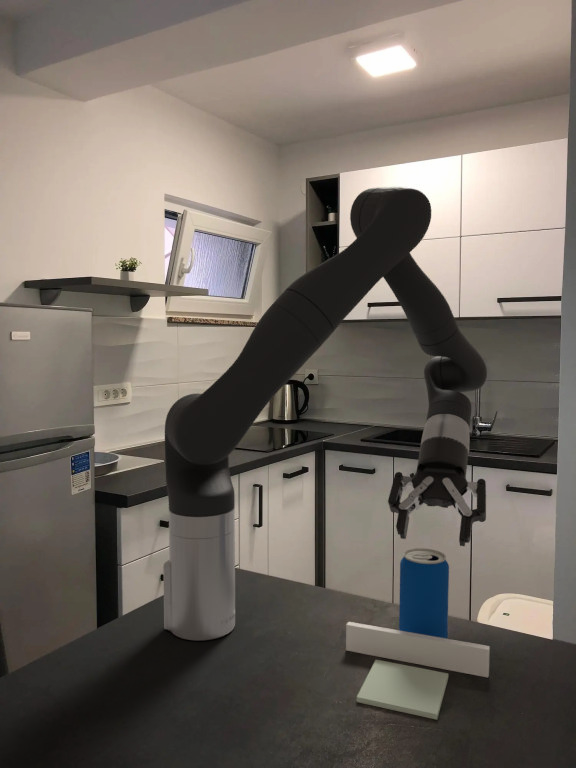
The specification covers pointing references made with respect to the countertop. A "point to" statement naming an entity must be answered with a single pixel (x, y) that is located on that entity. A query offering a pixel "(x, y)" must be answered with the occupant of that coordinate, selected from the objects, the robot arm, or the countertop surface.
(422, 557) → the beverage can
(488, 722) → the countertop surface
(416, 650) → the low wall
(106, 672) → the countertop surface
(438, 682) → the mat
